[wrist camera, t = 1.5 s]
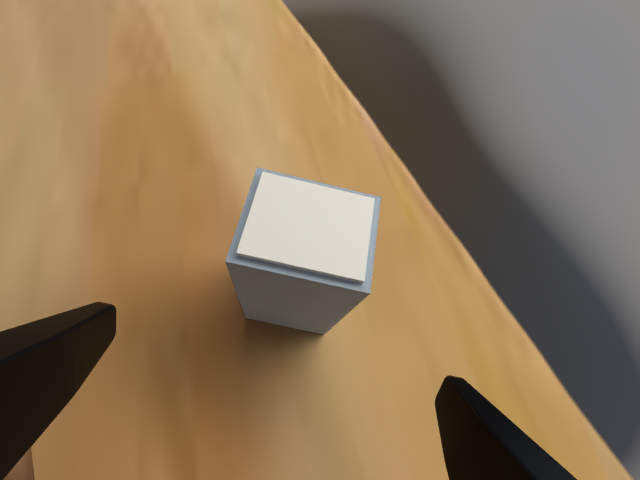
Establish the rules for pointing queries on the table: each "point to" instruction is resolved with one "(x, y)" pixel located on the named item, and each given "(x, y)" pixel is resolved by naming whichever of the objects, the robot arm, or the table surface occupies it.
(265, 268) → the tin
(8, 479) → the block
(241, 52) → the table surface
